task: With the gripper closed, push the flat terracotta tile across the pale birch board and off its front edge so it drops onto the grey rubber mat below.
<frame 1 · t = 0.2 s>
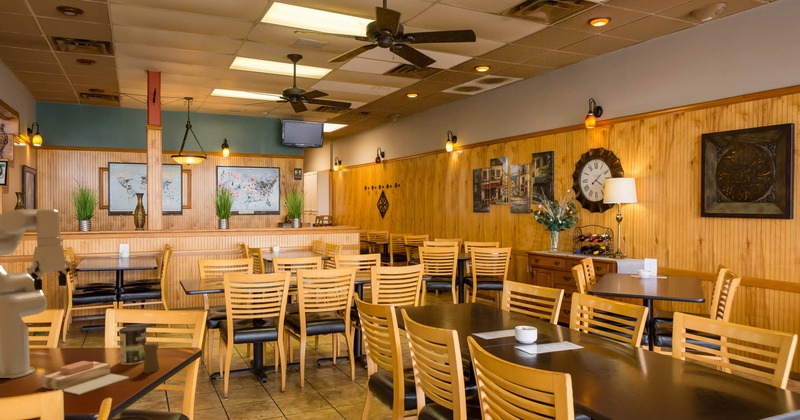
hand: (50, 287, 209), 36 cm above the table, tool pointing down, fingers open, 9 cm apart
cork: (151, 371, 221), on the table
birch board: (77, 380, 211), on the table
grey mat: (95, 384, 206), on the table
coffee can: (133, 361, 235), on the table
terracotta tile: (77, 370, 211), point 4 cm above the table, touching birch board
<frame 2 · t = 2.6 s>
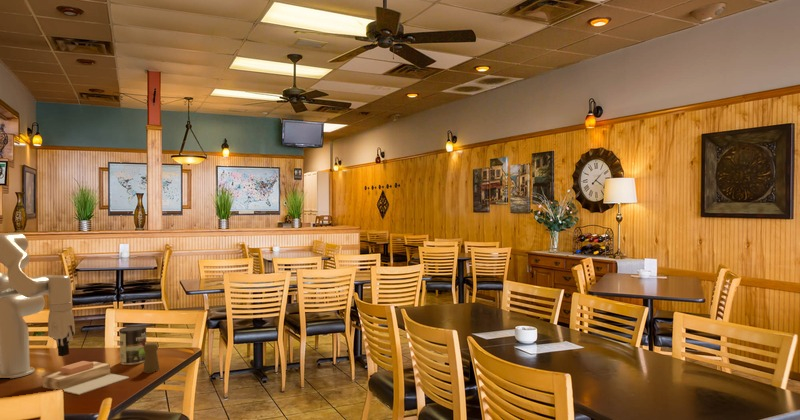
hand: (63, 355, 214), 9 cm above the table, tool pointing down, fingers closed
nothing on the table moved.
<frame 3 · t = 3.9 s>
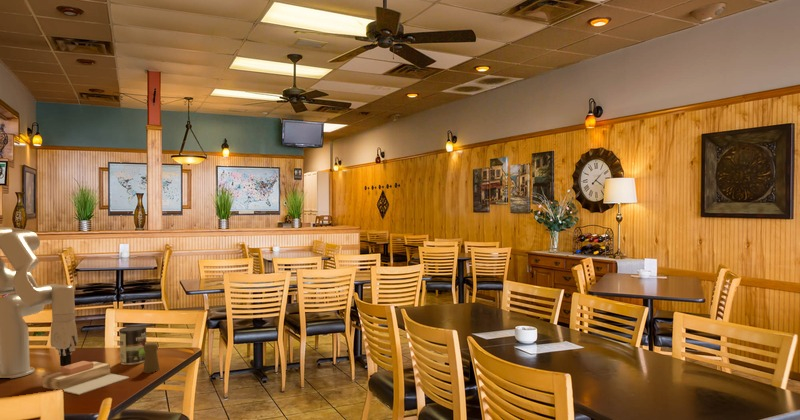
hand: (65, 365, 214), 5 cm above the table, tool pointing down, fingers closed
nothing on the table moved.
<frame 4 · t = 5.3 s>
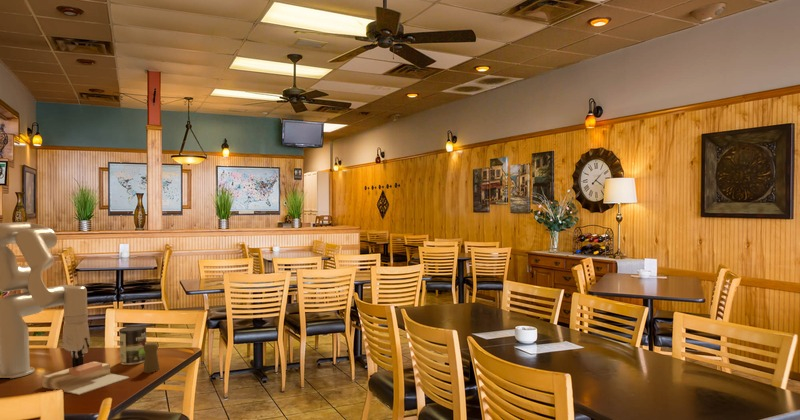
hand: (78, 367, 210), 5 cm above the table, tool pointing down, fingers closed
terracotta tile: (85, 371, 208), point 4 cm above the table
everything else where it was.
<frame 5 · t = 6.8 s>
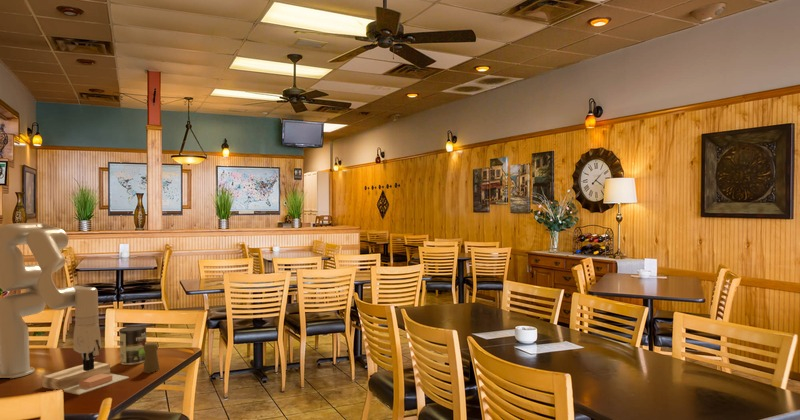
hand: (88, 369, 207), 5 cm above the table, tool pointing down, fingers closed
terracotta tile: (95, 377, 206), point 2 cm above the table, tilted 180°, touching grey mat
everything else where it was.
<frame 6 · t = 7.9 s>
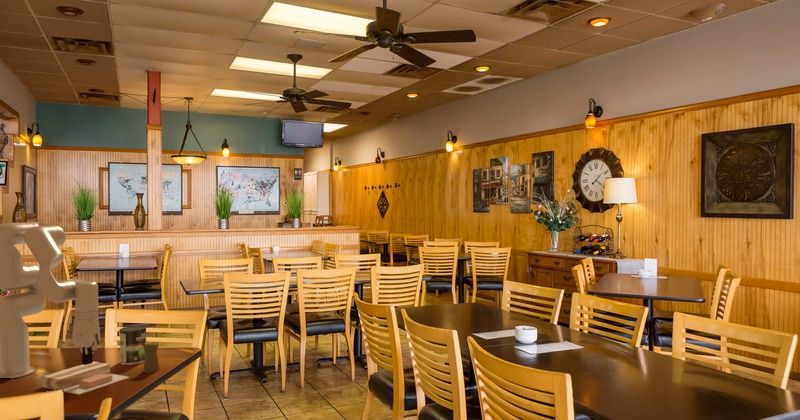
hand: (87, 363, 208), 7 cm above the table, tool pointing down, fingers closed
nothing on the table moved.
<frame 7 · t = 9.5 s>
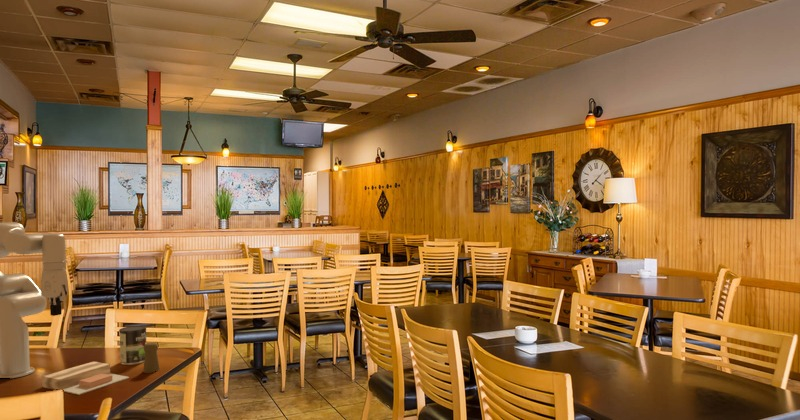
hand: (56, 314, 211), 25 cm above the table, tool pointing down, fingers closed
nothing on the table moved.
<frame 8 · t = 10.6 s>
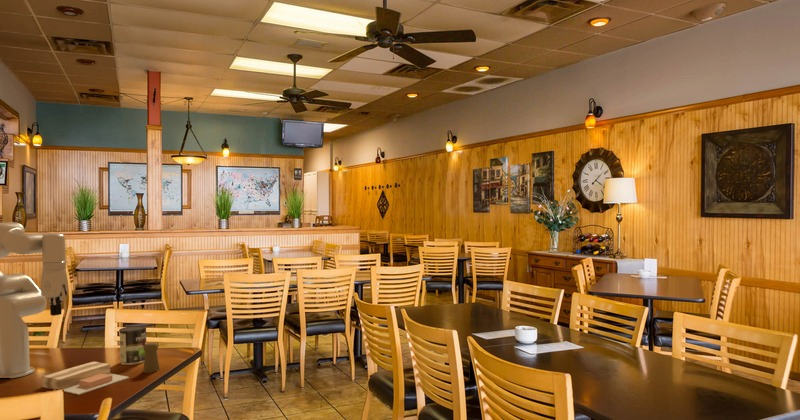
hand: (56, 314, 211), 25 cm above the table, tool pointing down, fingers closed
nothing on the table moved.
at the end: terracotta tile point 2.4 cm above the table; terracotta tile inside the target area (0.1 cm from its centre), point 2.4 cm above the table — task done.
